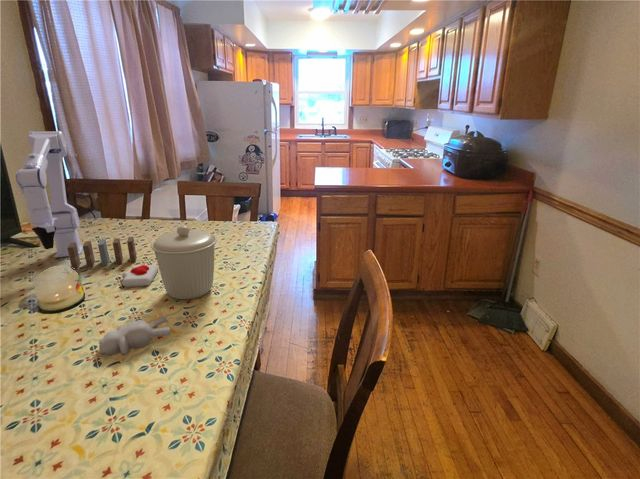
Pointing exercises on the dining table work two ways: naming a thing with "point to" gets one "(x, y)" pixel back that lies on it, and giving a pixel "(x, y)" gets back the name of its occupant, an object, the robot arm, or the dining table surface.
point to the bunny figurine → (132, 336)
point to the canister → (186, 261)
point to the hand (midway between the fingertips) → (49, 248)
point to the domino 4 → (131, 249)
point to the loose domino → (103, 252)
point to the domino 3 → (117, 251)
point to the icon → (139, 275)
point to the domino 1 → (74, 255)
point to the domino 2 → (88, 254)
